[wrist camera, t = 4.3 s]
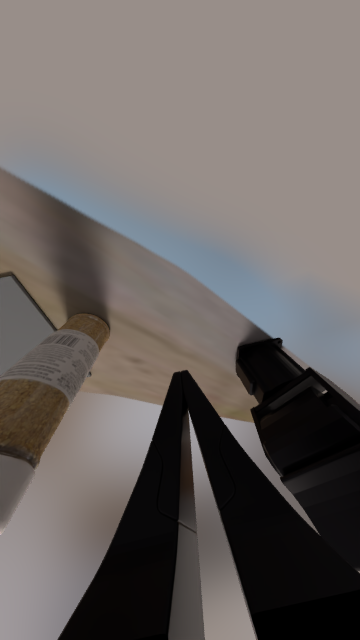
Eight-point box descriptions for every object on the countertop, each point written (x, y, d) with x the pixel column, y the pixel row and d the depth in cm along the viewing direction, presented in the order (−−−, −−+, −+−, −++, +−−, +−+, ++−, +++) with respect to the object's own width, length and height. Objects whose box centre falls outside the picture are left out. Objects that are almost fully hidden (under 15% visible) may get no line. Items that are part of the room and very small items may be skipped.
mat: (13, 275, 13) (10, 275, 12) (91, 374, 20) (90, 376, 19) (-107, 301, 12) (-113, 302, 12) (15, 391, 19) (13, 393, 19)
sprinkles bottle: (65, 338, 16) (-176, 578, 5) (71, 305, 14) (-303, 564, 3) (106, 348, 18) (0, 553, 6) (115, 320, 16) (-10, 532, 4)
